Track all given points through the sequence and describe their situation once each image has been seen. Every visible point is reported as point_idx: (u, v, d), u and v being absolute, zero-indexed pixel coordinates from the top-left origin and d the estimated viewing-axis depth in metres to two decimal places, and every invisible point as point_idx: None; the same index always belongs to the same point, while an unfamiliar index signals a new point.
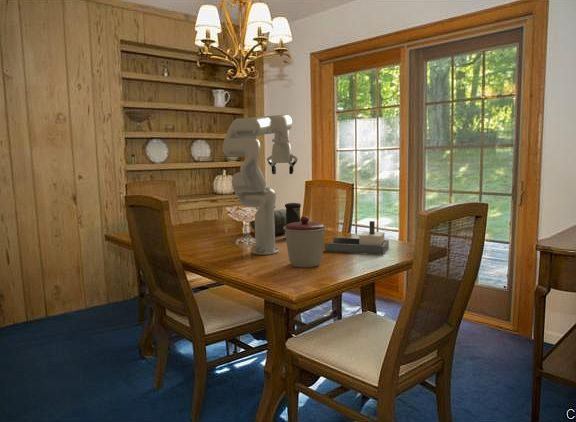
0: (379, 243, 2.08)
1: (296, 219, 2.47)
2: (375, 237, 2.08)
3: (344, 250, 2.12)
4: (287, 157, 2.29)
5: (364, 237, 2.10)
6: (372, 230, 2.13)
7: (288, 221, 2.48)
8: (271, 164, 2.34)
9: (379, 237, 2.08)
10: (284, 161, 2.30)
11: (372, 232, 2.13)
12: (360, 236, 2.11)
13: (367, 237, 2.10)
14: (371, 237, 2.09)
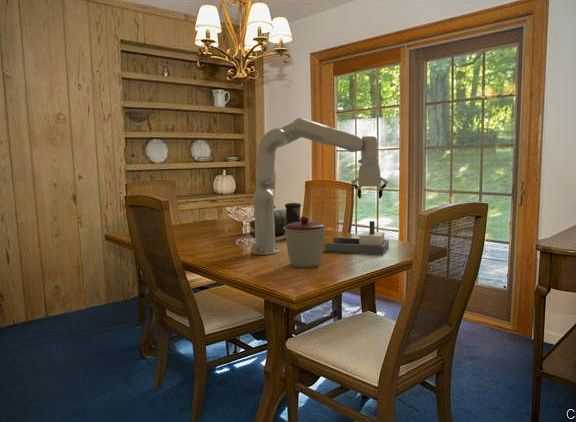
0: (379, 243, 2.08)
1: (296, 219, 2.47)
2: (375, 237, 2.08)
3: (344, 250, 2.12)
4: (377, 180, 2.08)
5: (364, 237, 2.10)
6: (372, 230, 2.13)
7: (288, 221, 2.48)
8: (357, 187, 2.13)
9: (379, 237, 2.08)
10: (373, 184, 2.08)
11: (372, 232, 2.13)
12: (360, 236, 2.11)
13: (367, 237, 2.10)
14: (371, 237, 2.09)
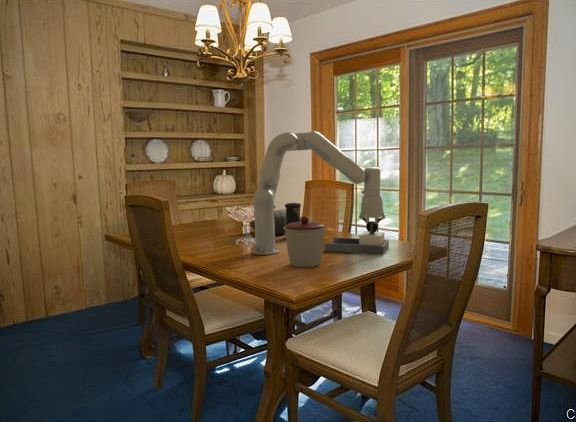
0: (379, 243, 2.08)
1: (296, 219, 2.47)
2: (375, 237, 2.08)
3: (344, 250, 2.12)
4: (379, 212, 2.09)
5: (364, 237, 2.10)
6: (372, 230, 2.13)
7: (288, 221, 2.48)
8: (366, 221, 2.13)
9: (379, 237, 2.08)
10: (375, 216, 2.10)
11: (372, 232, 2.13)
12: (360, 236, 2.11)
13: (367, 237, 2.10)
14: (371, 237, 2.09)
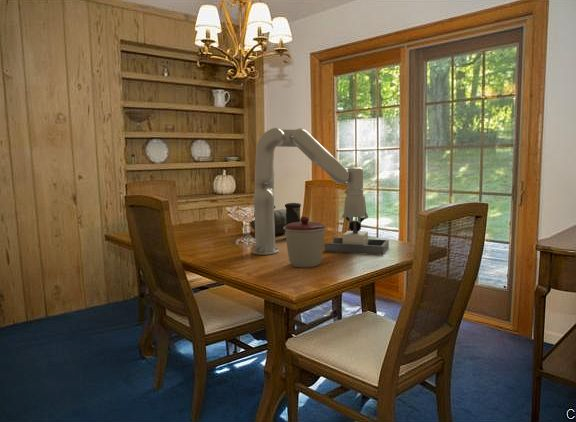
0: (362, 242, 2.11)
1: (296, 219, 2.47)
2: (358, 236, 2.11)
3: (344, 250, 2.12)
4: (362, 211, 2.12)
5: (347, 236, 2.13)
6: (355, 229, 2.16)
7: (288, 221, 2.48)
8: (349, 220, 2.16)
9: (362, 236, 2.11)
10: (358, 215, 2.13)
11: (355, 231, 2.16)
12: (343, 235, 2.14)
13: (350, 236, 2.13)
14: (354, 236, 2.12)
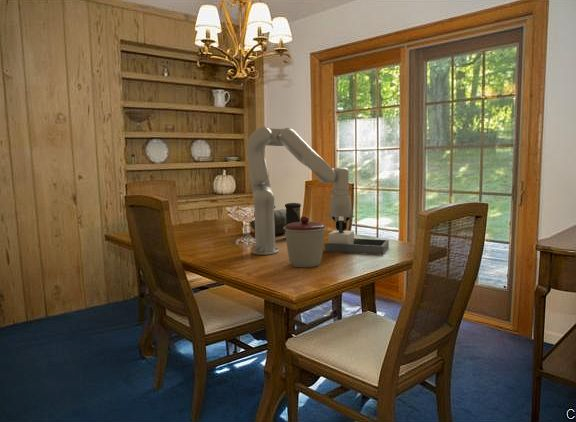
0: (347, 241, 2.14)
1: (296, 219, 2.47)
2: (343, 235, 2.14)
3: (344, 250, 2.12)
4: (347, 211, 2.15)
5: (333, 235, 2.16)
6: (341, 229, 2.18)
7: (288, 221, 2.48)
8: (335, 220, 2.19)
9: (347, 235, 2.13)
10: (344, 215, 2.15)
11: (341, 231, 2.19)
12: (329, 234, 2.16)
13: (336, 235, 2.15)
14: (339, 235, 2.15)
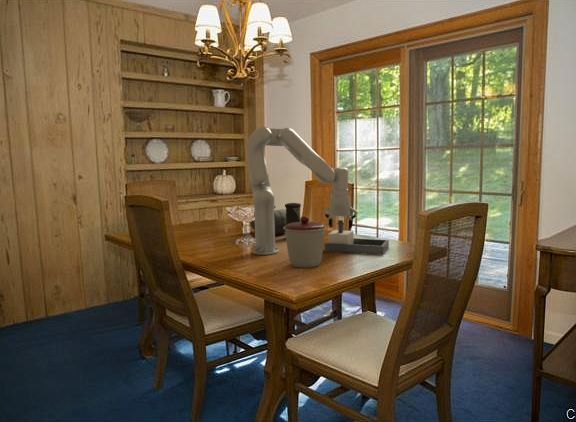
0: (347, 241, 2.14)
1: (296, 219, 2.47)
2: (343, 235, 2.14)
3: (344, 250, 2.12)
4: (347, 211, 2.15)
5: (332, 235, 2.16)
6: (341, 229, 2.19)
7: (288, 221, 2.48)
8: (328, 217, 2.20)
9: (347, 235, 2.13)
10: (343, 215, 2.15)
11: (341, 231, 2.19)
12: (329, 234, 2.17)
13: (335, 235, 2.15)
14: (339, 235, 2.15)
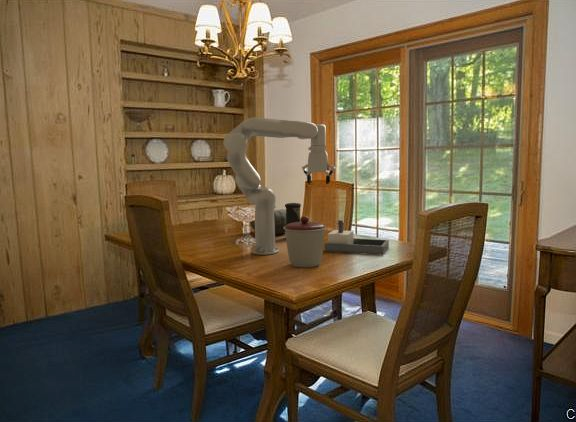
0: (347, 241, 2.14)
1: (296, 219, 2.47)
2: (343, 235, 2.14)
3: (344, 250, 2.12)
4: (324, 166, 2.20)
5: (332, 235, 2.16)
6: (341, 229, 2.19)
7: (288, 221, 2.48)
8: (307, 173, 2.25)
9: (347, 235, 2.13)
10: (321, 170, 2.21)
11: (341, 231, 2.19)
12: (329, 234, 2.17)
13: (335, 235, 2.15)
14: (339, 235, 2.15)
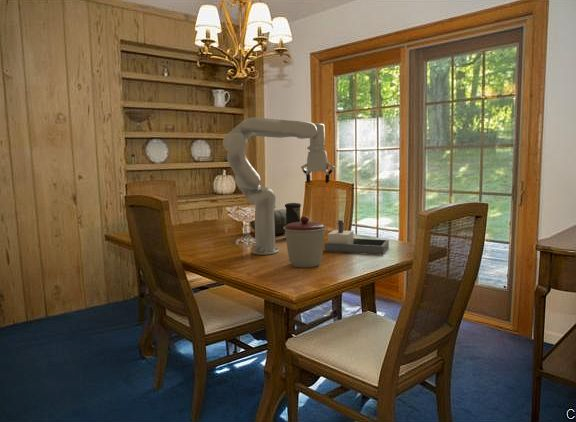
0: (347, 241, 2.14)
1: (296, 219, 2.47)
2: (343, 235, 2.14)
3: (344, 250, 2.12)
4: (323, 165, 2.20)
5: (332, 235, 2.16)
6: (341, 229, 2.19)
7: (288, 221, 2.48)
8: (306, 172, 2.26)
9: (347, 235, 2.13)
10: (320, 170, 2.21)
11: (341, 231, 2.19)
12: (329, 234, 2.17)
13: (335, 235, 2.15)
14: (339, 235, 2.15)
